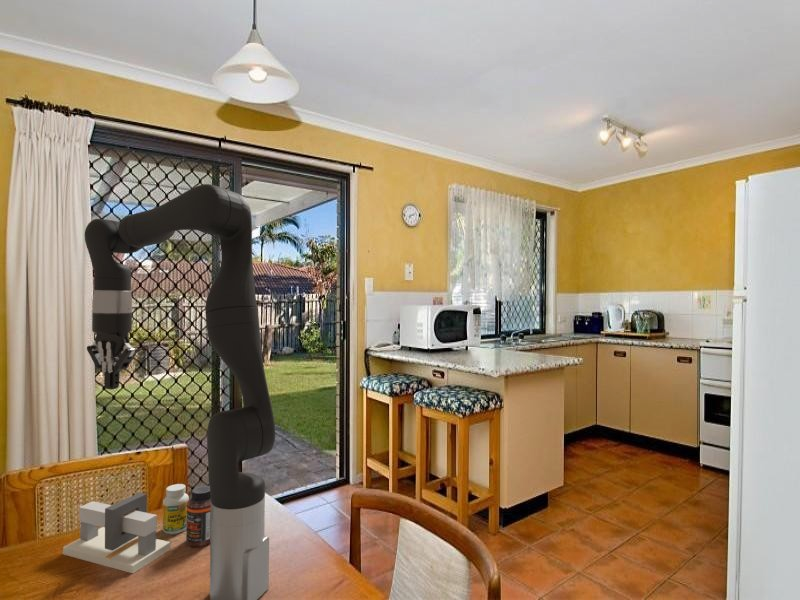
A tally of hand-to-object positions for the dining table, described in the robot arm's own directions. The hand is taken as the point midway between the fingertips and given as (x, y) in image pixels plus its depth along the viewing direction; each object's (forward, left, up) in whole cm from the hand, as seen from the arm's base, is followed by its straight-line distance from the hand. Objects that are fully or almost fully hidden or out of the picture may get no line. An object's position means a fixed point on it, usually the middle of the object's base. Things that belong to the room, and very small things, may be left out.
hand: (111, 388), depth 103 cm
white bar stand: (-8, +5, -33) cm, 34 cm away
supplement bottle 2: (-21, -5, -33) cm, 39 cm away
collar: (-10, +5, -29) cm, 32 cm away
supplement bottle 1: (-12, -7, -33) cm, 35 cm away
